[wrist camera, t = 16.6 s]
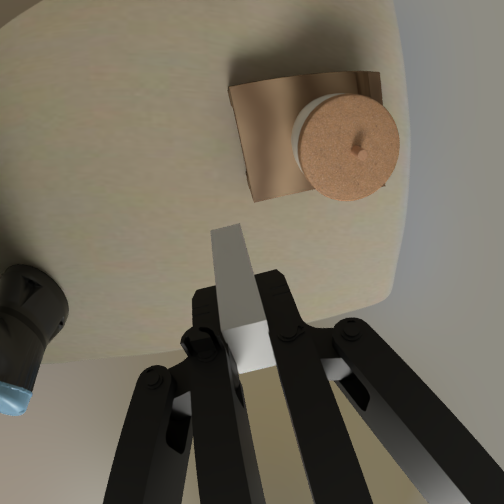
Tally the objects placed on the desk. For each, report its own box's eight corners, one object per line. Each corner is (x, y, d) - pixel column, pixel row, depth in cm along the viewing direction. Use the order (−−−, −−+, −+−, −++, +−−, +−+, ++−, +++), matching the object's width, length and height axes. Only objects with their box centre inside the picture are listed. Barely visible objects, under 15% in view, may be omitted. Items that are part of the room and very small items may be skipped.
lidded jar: (327, 191, 36) (361, 228, 28) (260, 141, 31) (280, 166, 23) (379, 128, 32) (426, 149, 24) (318, 70, 27) (358, 71, 19)
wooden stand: (249, 190, 39) (258, 213, 33) (226, 86, 31) (231, 87, 25) (359, 167, 39) (385, 186, 33) (351, 70, 31) (379, 72, 25)
